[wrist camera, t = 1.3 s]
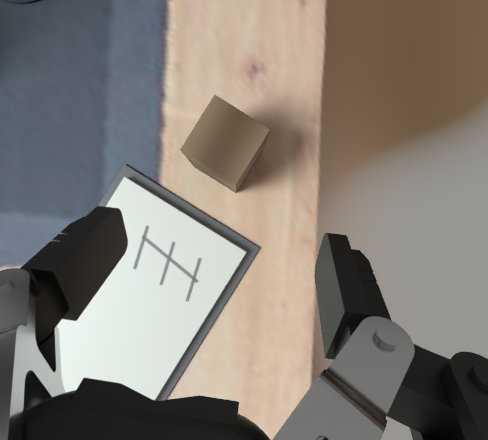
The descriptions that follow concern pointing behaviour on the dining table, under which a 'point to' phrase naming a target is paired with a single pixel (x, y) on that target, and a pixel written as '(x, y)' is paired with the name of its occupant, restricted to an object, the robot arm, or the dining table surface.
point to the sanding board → (153, 292)
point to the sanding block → (225, 143)
